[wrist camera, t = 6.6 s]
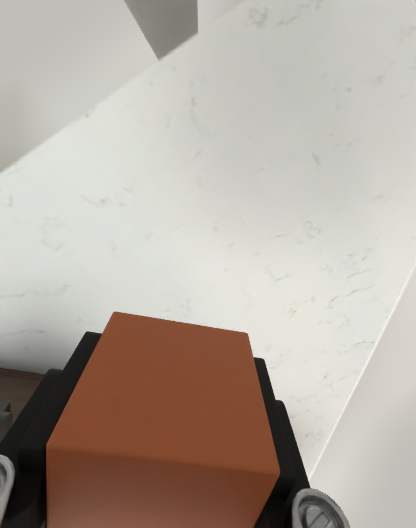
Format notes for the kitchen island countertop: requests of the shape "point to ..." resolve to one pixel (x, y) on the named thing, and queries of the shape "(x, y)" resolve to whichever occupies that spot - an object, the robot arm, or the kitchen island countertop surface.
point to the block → (162, 432)
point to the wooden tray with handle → (15, 395)
